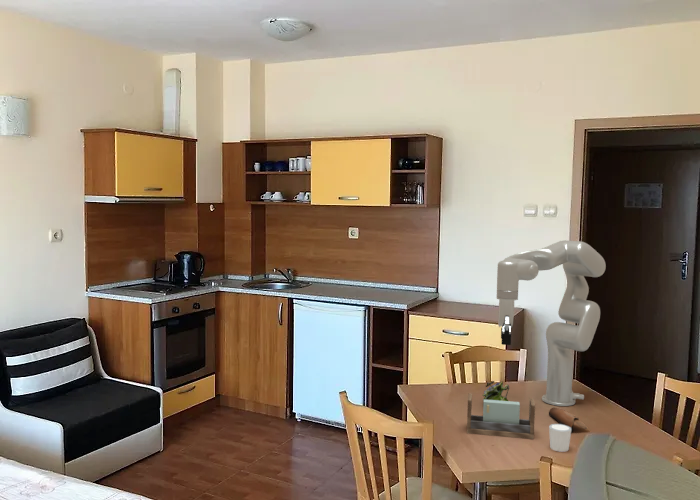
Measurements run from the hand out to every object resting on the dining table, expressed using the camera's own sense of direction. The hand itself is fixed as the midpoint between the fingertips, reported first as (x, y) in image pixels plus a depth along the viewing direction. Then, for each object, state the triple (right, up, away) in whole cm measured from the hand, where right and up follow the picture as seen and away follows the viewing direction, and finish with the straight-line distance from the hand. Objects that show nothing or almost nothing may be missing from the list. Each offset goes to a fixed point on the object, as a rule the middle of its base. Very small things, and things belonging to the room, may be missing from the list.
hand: (505, 341), depth 228 cm
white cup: (+11, -31, -26) cm, 42 cm away
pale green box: (-5, -28, -12) cm, 31 cm away
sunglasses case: (+22, -30, -3) cm, 37 cm away
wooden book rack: (-5, -29, -12) cm, 32 cm away
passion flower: (+1, -27, +16) cm, 32 cm away
